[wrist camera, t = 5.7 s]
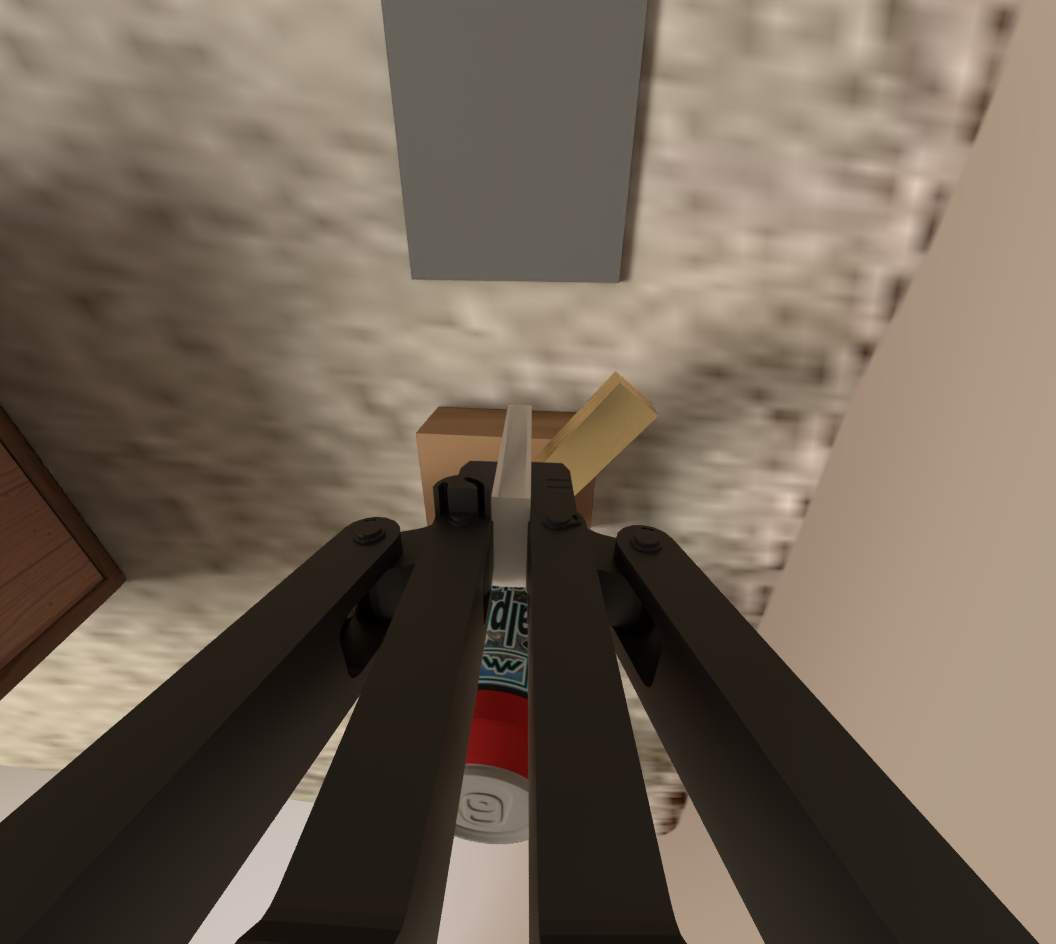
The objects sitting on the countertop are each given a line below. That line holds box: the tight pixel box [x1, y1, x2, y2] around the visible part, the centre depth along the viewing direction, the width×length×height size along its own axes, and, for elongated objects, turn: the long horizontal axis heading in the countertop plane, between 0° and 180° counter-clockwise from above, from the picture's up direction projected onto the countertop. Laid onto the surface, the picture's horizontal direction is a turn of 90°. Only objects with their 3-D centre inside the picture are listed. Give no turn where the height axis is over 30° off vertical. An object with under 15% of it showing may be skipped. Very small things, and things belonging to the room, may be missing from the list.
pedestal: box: [416, 407, 595, 529], centre depth 21 cm, size 7×8×4 cm
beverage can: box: [454, 585, 529, 844], centre depth 22 cm, size 7×7×12 cm
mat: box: [381, 0, 648, 283], centre depth 16 cm, size 9×9×1 cm
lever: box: [531, 371, 658, 496], centre depth 17 cm, size 9×3×2 cm, turn 141°
